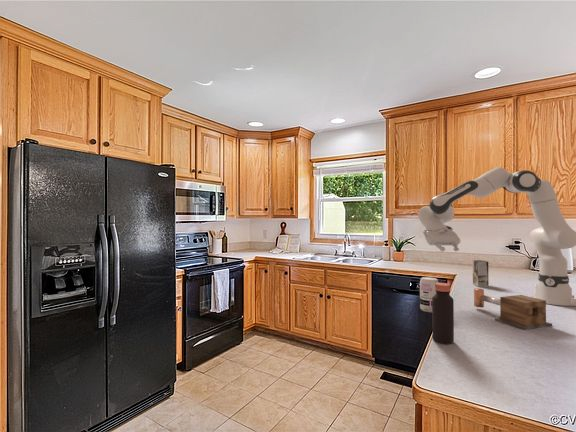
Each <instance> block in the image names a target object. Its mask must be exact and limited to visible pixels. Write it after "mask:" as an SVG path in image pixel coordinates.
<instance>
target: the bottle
mask: <svg viewBox="0 0 576 432" xmlns="http://www.w3.org/2000/svg"><path fill="white" fill-rule="evenodd" d="M435 291H436V294H435V295H434V296H433V297H432V315H431V316H432V317H431V318H432V320H431V321H432V325H431V326H432V330H431V331H432V332H431V333H432V340H433V342H436V343H438V344H442V343H443V344H444V345H451V343H452V344H454V341H455V340H454V339H455V337H454V336H455V334H454V333H455V332H454V331H455V330H454V326H455V322H454V319H455V317H454V315H455V313H454V310H455V309H454V305H455V304H454V302H455V301H454V298H453V297H452V296H451V294H450V293H451V284H450V283H445V282H439V283H435ZM443 344H442V345H443Z"/></svg>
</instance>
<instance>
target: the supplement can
mask: <svg viewBox="0 0 576 432" xmlns="http://www.w3.org/2000/svg"><path fill="white" fill-rule="evenodd" d="M435 283H440V282H439V280H438V278H436V277H430V276H429V277H427V276H425V277H424V276H423V277H420V281H419V308H420V310H421V311H422V312H424V313H425V312H426V313H432V297H433V296H434V295H435V294H436V291H435Z"/></svg>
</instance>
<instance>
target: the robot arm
mask: <svg viewBox="0 0 576 432" xmlns="http://www.w3.org/2000/svg"><path fill="white" fill-rule="evenodd" d="M499 189H503V190H505V191H507V192H509V193H512V194H517V193H525V194H526V195H527V197H528V199H529V204H530V207H531V211H532V215H533V218H534V219H535V220H536V221H537V222H538V223H539V225H540V227H536V228H534V229H532V231H531V232H530V233H529V238H530V241H531V242H532V243H533V245H534V246H535V247H534V248H535V249H536V252H537V255H538V260H539V261H538V262H539V266H538V267H539V268H538V269H539V273H538V276H537V277H538V282H536V283H535V284H534V295H533V296H531V297H532V298H537V299H541V300H546V305H553V306H554V305H555V306H562V307H563V306H567V307H576V298H575V295H573V288H572V287H571V286H570V284H569V283H570V279H569V278H570V277H569V276H568V260H567V258H566V257H565V256H564V255H563V253H562V250H564V249H565V250H566V249H573V248H575V247H576V230H574V229H573V228H572V227H571V226H570V225H569V224H568V223H567V221H566V219H565V217H564V215H563V214H562V211H561V208H560V204H559V201H558V198H557V194H556V191H555V189H554V187H553V185H552V183H551V182H550V181H549V180H546V179H540V177H538V175H537V174H536V173H535V172H533V171H530V170H527V169H525V170H519V171H515V172H511V173H510V172H509V171H508V170H507V169H505V168H504V167H501V166H500V167H499V166H497V167H494V168H492V169H490V170H488V171H486V172H485V173H483V174H481V175H480V176H478V177H476V178H475V179H472V180H469V181H466V182H463V183H461V184H459V185H458V186H456V187H454V188H452V189H450V190H449V191H447V192H445V193H441V194H438V195H436V196H434V197H432V199H431V200H430V202H429V206H427V205H425V206H422V207H421V208H420V209H419V210H418V212H417V216H418V220H419V221H420V223H421V224H422V226H423V227H425V230H424V231H423V235H424V239H425V240H426V242H427V244H428V245H429V246H435V247H436V248H438V249H439V250H440V251H441V252H445V251H446V248H445V246H451V247H453V251H455V252H459V251H460V249H459V247H458V245H459V244H461V238H460V237H459V235H458V234H457V233H456V232H455V231H454V229H453V227H452V226H450V225H446V224H445V223H447V222H450V221H452V220H453V219H454V217H455V210H454V208H453V205H452V204H453V203H454V202H456V201H458V200H460V199H461V198H464V197H465V196H468V195H469V196H470V195H471V196H473V197H475V198H481V199H483V198H486V197H488V196H490V195H492V194H494V193H495V192H496V191H497V190H499Z"/></svg>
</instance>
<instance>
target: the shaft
mask: <svg viewBox="0 0 576 432" xmlns="http://www.w3.org/2000/svg"><path fill="white" fill-rule="evenodd" d="M485 302H487V303H490V304H492V305H497V306H500V298H496V297H492V296H488V295H485V290H484V288H483V289H482V288H473V304H474V305H473V306H474V307H476V308H485Z"/></svg>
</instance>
